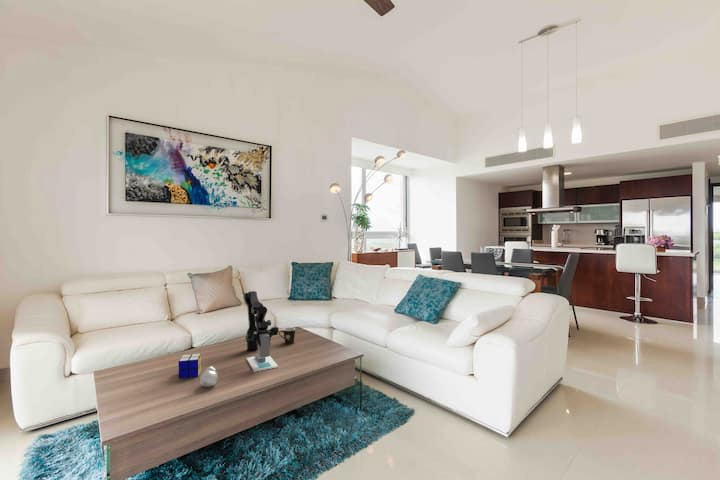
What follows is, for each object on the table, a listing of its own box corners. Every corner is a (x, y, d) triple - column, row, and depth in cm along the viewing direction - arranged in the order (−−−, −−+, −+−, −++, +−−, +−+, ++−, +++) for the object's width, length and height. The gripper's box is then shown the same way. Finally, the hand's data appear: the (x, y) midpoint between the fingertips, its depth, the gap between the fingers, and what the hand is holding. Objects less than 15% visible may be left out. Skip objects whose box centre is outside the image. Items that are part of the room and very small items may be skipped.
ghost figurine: (222, 384, 184) (222, 366, 184) (207, 391, 176) (206, 372, 175) (211, 380, 189) (211, 362, 188) (196, 387, 180) (195, 368, 180)
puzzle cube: (178, 379, 190) (178, 361, 190) (182, 371, 200) (182, 354, 199) (198, 377, 193) (198, 359, 193) (201, 370, 202) (201, 353, 202)
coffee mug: (297, 342, 253) (297, 328, 253) (289, 345, 246) (289, 331, 245) (286, 339, 259) (286, 326, 259) (277, 342, 252) (277, 329, 252)
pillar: (259, 355, 209) (259, 334, 208) (267, 353, 211) (267, 333, 211) (261, 357, 204) (261, 336, 204) (269, 356, 207) (269, 335, 206)
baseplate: (246, 359, 219) (246, 354, 219) (268, 355, 226) (268, 350, 226) (254, 372, 200) (254, 366, 200) (278, 367, 207) (278, 361, 207)
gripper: (246, 317, 206) (250, 341, 196) (277, 314, 215) (283, 336, 206) (244, 327, 213) (248, 350, 204) (274, 323, 222) (279, 345, 213)
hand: (264, 345), depth 206 cm, fingers closed on pillar, 5 cm apart
